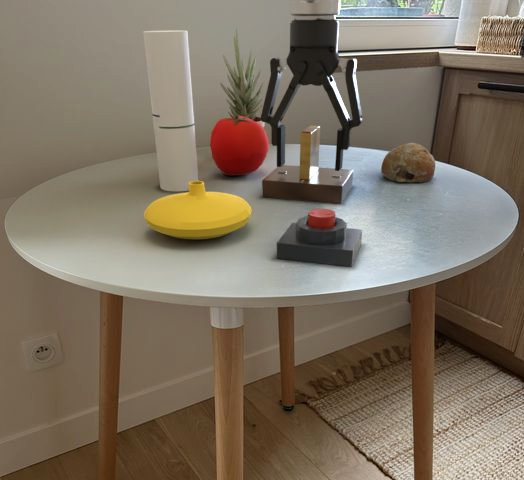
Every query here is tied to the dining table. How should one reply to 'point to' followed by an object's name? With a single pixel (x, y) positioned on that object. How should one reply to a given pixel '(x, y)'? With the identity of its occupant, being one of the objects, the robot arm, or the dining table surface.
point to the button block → (320, 243)
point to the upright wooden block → (309, 152)
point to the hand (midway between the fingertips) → (309, 166)
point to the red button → (321, 218)
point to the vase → (198, 213)
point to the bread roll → (408, 164)
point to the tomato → (238, 145)
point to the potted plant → (243, 87)
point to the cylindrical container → (172, 107)
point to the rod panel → (308, 184)
